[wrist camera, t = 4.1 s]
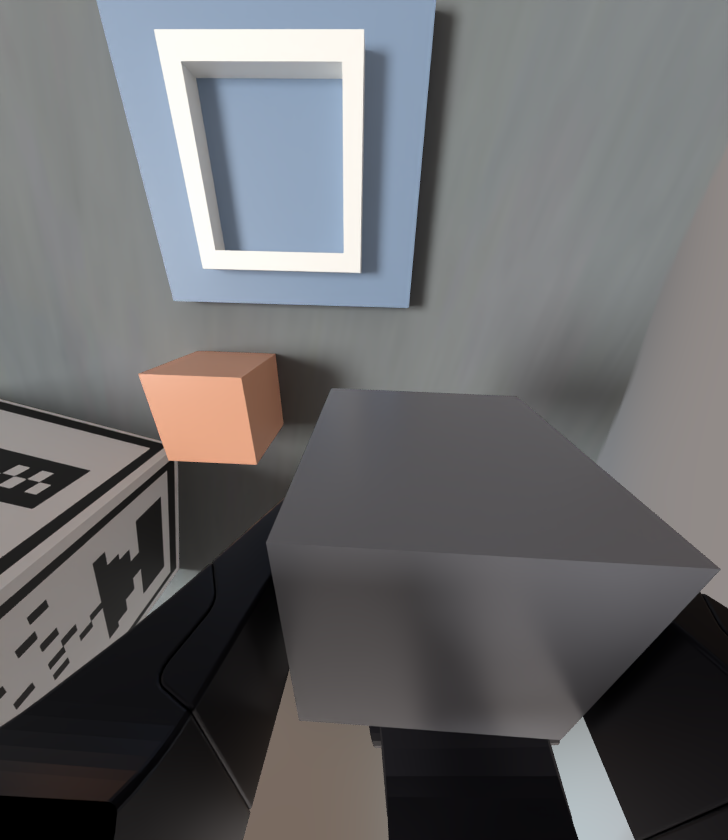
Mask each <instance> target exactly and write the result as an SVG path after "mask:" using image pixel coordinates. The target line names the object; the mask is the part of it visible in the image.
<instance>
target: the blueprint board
mask: <svg viewBox="0 0 728 840" xmlns="http://www.w3.org/2000/svg"><path fill="white" fill-rule="evenodd" d="M96 1H97V5H98V9H99V13H100V16H101V20H102V24H103V28H104V32H105V36H106V40H107V44H108V47H109V51H110V55H111V59H112V63H113V67H114V71H115V75H116V79H117V82H118V86H119V90H120V94H121V98H122V102H123V106H124V110H125V114H126V117H127V121H128V125H129V129H130V133H131V137H132V141H133V145H134V148H135V152H136V156H137V160H138V164H139V168H140V172H141V176H142V180H143V183H144V187H145V191H146V195H147V199H148V203H149V207H150V211H151V214H152V218H153V222H154V226H155V230H156V234H157V238H158V242H159V246H160V249H161V253H162V257H163V261H164V265H165V269H166V273H167V277H168V281H169V284H170V288H171V292H172V296H173V300H174V301H194V302H227V303H261V304H294V305H328V306H361V307H395V308H409V299H410V288H411V277H412V265H413V254H414V243H415V232H416V220H417V209H418V198H419V187H420V175H421V164H422V153H423V142H424V130H425V119H426V108H427V97H428V85H429V74H430V63H431V52H432V40H433V29H434V18H435V7H436V0H96Z"/></svg>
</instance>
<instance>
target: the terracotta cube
mask: <svg viewBox="0 0 728 840" xmlns="http://www.w3.org/2000/svg"><path fill="white" fill-rule="evenodd" d="M139 377H140V380H141V383H142V386H143V389H144V392H145V395H146V397H147V400H148V403H149V406H150V409H151V412H152V415H153V418H154V420H155V423H156V426H157V429H158V432H159V435H160V438H161V441H162V444H163V446H164V449H165V452H166V455H167V458H168V461H188V462H209V463H231V464H252V465H257V464H258V462H259V461H260V459H261V458H262V456H263V455H264V453H265V451H266V450H267V448H268V447H269V445H270V444H271V442H272V441H273V439H274V438H275V436H276V435H277V433H278V432H279V430H280V429H281V427H282V426H283V424H284V423H283V414H282V406H281V397H280V389H279V380H278V372H277V363H276V355H275V354H269V353H240V352H212V351H196V352H194V353H191V354H189V355H186V356H183V357H181V358H178V359H176V360H173V361H171V362H168V363H165V364H163V365H160V366H158V367H155V368H152V369H150V370H147V371H145V372H142V373H139Z"/></svg>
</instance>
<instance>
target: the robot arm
mask: <svg viewBox="0 0 728 840" xmlns="http://www.w3.org/2000/svg"><path fill="white" fill-rule="evenodd" d="M284 499H285V497H284V498H283V499H282V500H281V501H280V502H279V503H278V504H277V505H275V506H274V507H273V508H272V509H271V510H270V511H269V512H268V513H266V514H265V515H264V516H263V517H262V518H261V519H260V520H259V521H257V522H256V523H255V524H254V525H253V526H252V527H251V528H250V529H248V530H247V531H246V532H245V533H244V534H243V535H242V536H240V537H239V538H238V539H237V540H236V541H235V542H234V543H233V544H231V545H230V546H229V547H228V548H227V549H226V550H225V551H224V552H222V553H221V554H220V555H219V556H218V557H217V558H216V559H215V560H213V564H209V565H208V566H206V567H205V568H204V569H203V570H202V571H201V572H200V573H199V574H197V575H196V576H195V577H194V578H193V579H192V580H191V581H189V582H188V583H187V584H186V585H185V586H183V587H182V588H181V589H180V590H179V591H178V592H176V593H175V594H174V595H173V596H172V597H171V598H169V599H168V600H167V601H166V602H164V603H163V604H162V605H161V606H159V607H158V608H157V609H156V610H154V611H153V612H152V613H151V614H149V615H148V616H147V617H146V618H144V619H143V620H142V621H140V622H139V623H138V624H137V625H135V626H134V627H133V628H132V629H130V630H129V631H128V632H126V633H125V634H124V635H122V636H121V637H120V638H119V639H117V640H116V641H115V642H113V643H112V644H111V645H109V646H108V647H107V648H105V649H104V650H103V651H102V652H100V653H99V654H98V655H96V656H95V657H94V658H92V659H91V660H90V661H89V662H87V663H86V664H85V665H83V666H82V667H81V668H79V669H78V670H77V671H75V672H74V673H73V674H72V675H70V676H69V677H68V678H66V679H65V680H64V681H62V682H61V683H60V684H59V685H57V686H56V687H55V688H53V689H52V690H51V691H49V692H48V693H47V694H45V695H44V696H43V697H42V698H40V699H39V700H38V701H36V702H35V703H33V704H32V705H31V706H29V707H28V708H27V709H25V710H24V711H22V712H21V713H20V714H18V715H17V716H15V717H14V718H12V719H11V720H9V721H8V722H6V723H5V724H3V725H2V726H0V840H243V838H244V834H245V830H246V827H247V823H248V819H249V815H250V810H249V809H251V807H252V804H253V801H254V797H255V793H256V790H257V786H258V782H259V779H260V775H261V771H262V767H263V764H264V760H265V757H266V753H267V749H268V746H269V741H270V738H271V735H272V731H273V727H274V724H275V720H276V716H277V712H278V709H279V705H280V702H281V698H282V694H283V690H284V687H285V683H286V680H287V676H288V672H289V664H288V658H287V653H286V647H285V642H284V637H283V631H282V626H281V621H280V615H279V610H278V604H277V599H276V594H275V588H274V583H273V578H272V572H271V567H270V562H269V556H268V551H267V545H266V541H267V539H268V537H269V534H270V532H271V530H272V527H273V525H274V522H275V520H276V518H277V515H278V513H279V511H280V508H281V506H282V504H283V501H284ZM583 717H584V720H585V722H586V725H587V727H588V729H589V732H590V734H591V736H592V739H593V741H594V744H595V746H596V748H597V751H598V753H599V756H600V758H601V760H602V763H603V765H604V767H605V770H606V772H607V774H608V777H609V779H610V782H611V784H612V786H613V789H614V791H615V794H616V796H617V798H618V801H619V803H620V806H621V808H622V810H623V813H624V815H625V817H626V820H627V822H628V824H629V827H630V829H631V832H632V834H633V836H634V839H635V840H728V608H727V607H725V606H723V605H722V604H720V603H719V602H717V601H715V600H714V599H712V598H711V597H709V596H707V595H705V594H701V592H699V593H698V594H697V595H696V596H695V597H694V598H693V600H692V601H691V602H690V603H689V604H688V605H687V606H686V607H685V608H684V609H683V610H682V611H681V612H680V613H679V614H678V615H677V617H676V618H675V619H674V620H673V621H672V622H671V623H670V624H669V625H668V626H667V627H666V628H665V629H664V630H663V631H662V633H661V634H660V635H659V636H658V637H657V638H656V639H655V640H654V641H653V642H652V643H651V644H650V645H649V646H648V647H647V648H646V650H645V651H644V652H643V653H642V654H641V655H640V656H639V657H638V658H637V659H636V660H635V661H634V662H633V663H632V664H631V666H630V667H629V668H628V669H627V670H626V671H625V672H624V673H623V674H622V675H621V676H620V677H619V678H618V679H617V680H616V681H615V683H614V684H613V685H612V686H611V687H610V688H609V689H608V690H607V691H606V692H605V693H604V694H603V695H602V696H601V697H600V699H599V700H598V701H597V702H596V703H595V704H594V705H593V706H592V707H591V708H590V709H589V710H588V711H587V712H586V713H585V714H584V716H583ZM369 728H370V735H371V739H372V742H373V746H374V747H375V748H382V760H383V772H384V784H385V795H386V808H387V816H388V831H389V840H578V837H577V834H576V831H575V827H574V824H573V821H572V816H571V813H570V809H569V806H568V803H567V799H566V795H565V792H564V788H563V785H562V781H561V778H560V774H559V771H558V768H557V764H556V761H555V758H554V754H553V751H552V747H551V745H558V744H559V743H560V740H552V739H539V738H526V737H512V736H499V735H486V734H473V733H459V732H446V731H433V730H419V729H406V728H393V727H379V726H369Z"/></svg>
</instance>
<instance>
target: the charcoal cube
mask: <svg viewBox="0 0 728 840" xmlns="http://www.w3.org/2000/svg"><path fill="white" fill-rule="evenodd" d="M266 545H267V551H268V556H269V562H270V567H271V572H272V578H273V583H274V588H275V594H276V599H277V604H278V610H279V615H280V621H281V626H282V631H283V637H284V642H285V647H286V653H287V658H288V664H289V669H290V674H291V680H292V685H293V690H294V696H295V701H296V706H297V711H298V717H299V720H300V721H313V722H326V723H341V724H353V725H367V726H379V727H393V728H406V729H419V730H433V731H446V732H459V733H473V734H486V735H499V736H512V737H526V738H539V739H552V740H561V739H562V738H563V737H564V736H565V735H566V734H567V732H569V730H570V729H571V728H572V727H573V726H574V725H575V724H576V723H577V722H578V721H579V720H580V719H581V718H582V717H583V716H584V714H585V713H586V712H587V711H588V710H589V709H590V708H591V707H592V706H593V705H594V704H595V703H596V702H597V701H598V700H599V699H600V697H601V696H602V695H603V694H604V693H605V692H606V691H607V690H608V689H609V688H610V687H611V686H612V685H613V684H614V683H615V681H616V680H617V679H618V678H619V677H620V676H621V675H622V674H623V673H624V672H625V671H626V670H627V669H628V668H629V667H630V666H631V664H632V663H633V662H634V661H635V660H636V659H637V658H638V657H639V656H640V655H641V654H642V653H643V652H644V651H645V650H646V648H647V647H648V646H649V645H650V644H651V643H652V642H653V641H654V640H655V639H656V638H657V637H658V636H659V635H660V634H661V633H662V631H663V630H664V629H665V628H666V627H667V626H668V625H669V624H670V623H671V622H672V621H673V620H674V619H675V618H676V617H677V615H678V614H679V613H680V612H681V611H682V610H683V609H684V608H685V607H686V606H687V605H688V604H689V603H690V602H691V601H692V600H693V598H694V597H695V596H696V595H697V594H698V593H699V592H700V591H701V590H702V589H703V588H704V587H705V586H706V585H707V584H708V582H709V581H710V580H711V579H712V578H713V577H714V576H715V575H716V574H717V573H718V572H719V571H720V568H718V567H717V566H716V565H715V564H714V563H713V562H712V561H710V560H709V559H708V558H707V557H706V556H705V555H703V554H702V553H701V552H700V551H699V550H697V549H696V548H695V547H694V546H693V545H692V544H690V543H689V542H688V541H687V540H685V539H684V538H683V537H682V536H681V535H680V534H679V533H677V532H676V531H675V530H674V529H673V528H671V527H670V526H669V525H668V524H667V523H665V522H664V521H663V520H662V519H660V517H659V516H657V515H656V514H655V513H654V512H652V511H651V510H650V509H649V508H648V507H647V506H645V505H644V504H643V503H642V502H641V501H640V500H638V499H637V498H636V497H635V496H633V494H631V493H630V492H629V491H628V490H627V489H626V488H624V487H623V486H622V485H621V484H620V483H618V482H617V481H616V480H615V479H614V478H613V477H611V476H610V475H609V474H608V473H607V472H605V471H604V470H603V469H602V468H601V467H599V466H598V465H597V464H596V463H595V462H594V461H592V460H591V459H590V458H589V457H588V456H587V455H585V454H584V453H583V452H582V451H581V450H580V449H578V448H577V447H576V446H575V445H574V444H572V443H571V442H570V441H569V440H568V439H567V438H565V437H564V436H563V435H562V434H561V433H559V432H558V431H557V430H556V429H555V428H554V427H552V426H551V425H550V424H549V423H548V422H546V421H545V420H544V419H543V418H542V417H541V416H539V415H538V414H537V413H536V412H535V411H534V410H532V409H531V408H530V407H529V406H528V405H526V404H525V403H524V402H523V401H522V400H521V399H519V398H518V397H517V396H497V395H474V394H452V393H429V392H406V391H384V390H361V389H338V388H331V390H330V393H329V395H328V397H327V400H326V402H325V404H324V407H323V409H322V411H321V414H320V416H319V419H318V421H317V423H316V426H315V428H314V430H313V433H312V435H311V437H310V440H309V442H308V445H307V447H306V449H305V452H304V454H303V456H302V459H301V461H300V463H299V466H298V468H297V471H296V473H295V475H294V478H293V480H292V482H291V485H290V487H289V489H288V492H287V494H286V497H285V499H284V501H283V504H282V506H281V508H280V511H279V513H278V515H277V518H276V520H275V522H274V525H273V527H272V530H271V532H270V534H269V537H268V539H267V541H266Z"/></svg>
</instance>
